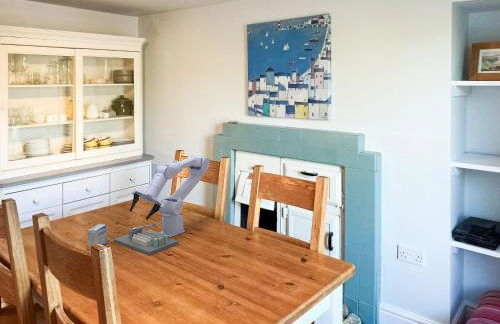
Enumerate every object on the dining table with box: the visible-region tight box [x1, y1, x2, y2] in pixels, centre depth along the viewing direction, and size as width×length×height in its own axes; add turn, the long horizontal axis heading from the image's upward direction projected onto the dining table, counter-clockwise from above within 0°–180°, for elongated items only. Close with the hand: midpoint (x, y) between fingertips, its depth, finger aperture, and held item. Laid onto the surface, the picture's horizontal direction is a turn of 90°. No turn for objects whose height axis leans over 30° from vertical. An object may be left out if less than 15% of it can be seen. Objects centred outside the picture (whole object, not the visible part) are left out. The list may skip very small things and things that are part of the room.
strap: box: [131, 221, 162, 231], centre depth 185 cm, size 17×4×1 cm, turn 51°
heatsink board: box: [113, 224, 180, 256], centre depth 187 cm, size 16×24×6 cm, turn 52°
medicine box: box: [86, 223, 108, 250], centre depth 182 cm, size 8×4×9 cm, turn 168°
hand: (138, 215), depth 180 cm, fingers open, 7 cm apart
